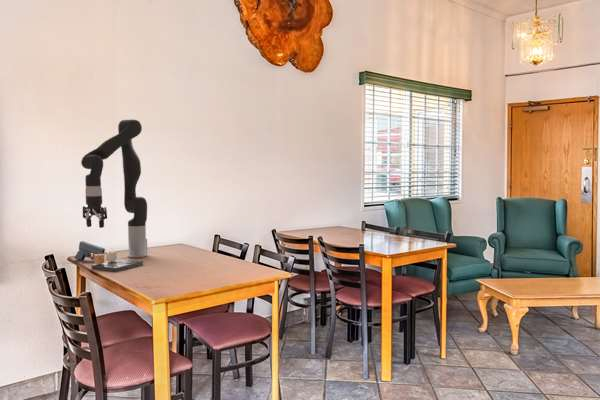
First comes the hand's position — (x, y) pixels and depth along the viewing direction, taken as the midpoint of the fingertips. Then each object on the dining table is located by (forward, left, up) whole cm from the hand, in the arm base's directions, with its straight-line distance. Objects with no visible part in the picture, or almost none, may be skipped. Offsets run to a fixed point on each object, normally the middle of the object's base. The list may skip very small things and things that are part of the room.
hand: (95, 227), depth 242 cm
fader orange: (+5, +7, -17) cm, 19 cm away
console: (-2, +13, -20) cm, 23 cm away
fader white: (-3, +7, -17) cm, 19 cm away
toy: (-8, -13, -20) cm, 25 cm away
